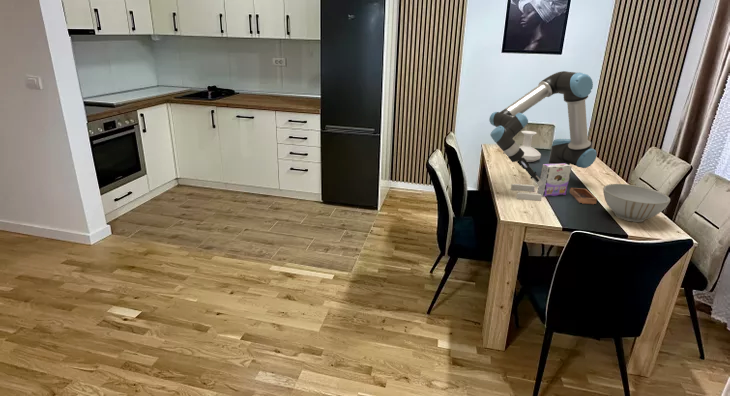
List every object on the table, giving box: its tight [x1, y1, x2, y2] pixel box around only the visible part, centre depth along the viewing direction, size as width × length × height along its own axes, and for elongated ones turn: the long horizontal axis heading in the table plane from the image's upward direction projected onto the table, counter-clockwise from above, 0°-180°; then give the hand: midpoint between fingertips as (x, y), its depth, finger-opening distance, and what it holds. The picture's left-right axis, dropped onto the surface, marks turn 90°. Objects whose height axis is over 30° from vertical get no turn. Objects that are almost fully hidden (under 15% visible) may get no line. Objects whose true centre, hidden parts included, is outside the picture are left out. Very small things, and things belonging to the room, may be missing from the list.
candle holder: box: [518, 130, 542, 163], centre depth 290 cm, size 20×20×19 cm
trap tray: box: [569, 187, 598, 205], centre depth 222 cm, size 8×16×3 cm, turn 173°
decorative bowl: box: [602, 183, 671, 223], centre depth 199 cm, size 27×27×12 cm
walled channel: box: [510, 183, 543, 201], centre depth 225 cm, size 12×16×3 cm
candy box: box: [536, 163, 573, 197], centre depth 225 cm, size 14×6×16 cm, turn 102°
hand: (541, 184), depth 223 cm, fingers closed
